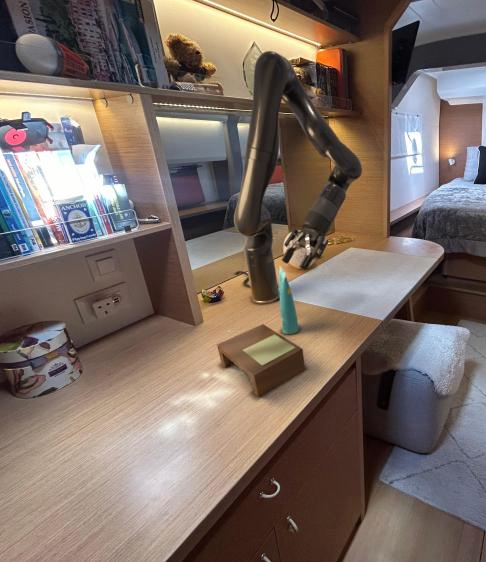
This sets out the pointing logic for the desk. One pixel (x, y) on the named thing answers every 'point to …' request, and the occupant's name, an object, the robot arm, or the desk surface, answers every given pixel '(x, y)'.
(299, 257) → the stuffed toy
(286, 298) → the tube
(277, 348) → the brown wooden table
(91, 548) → the desk surface
